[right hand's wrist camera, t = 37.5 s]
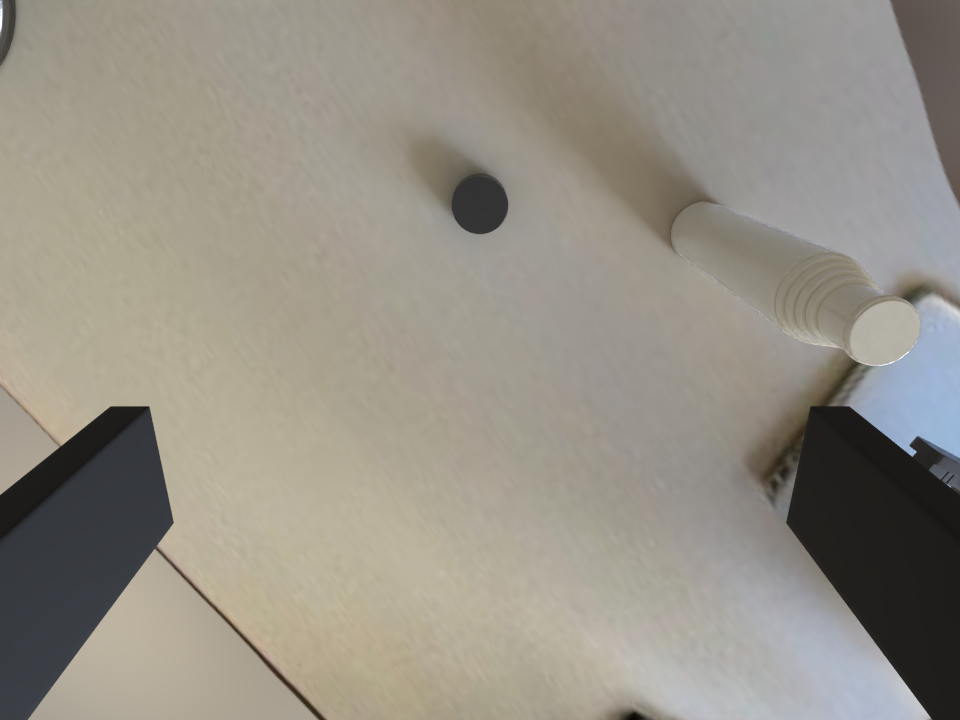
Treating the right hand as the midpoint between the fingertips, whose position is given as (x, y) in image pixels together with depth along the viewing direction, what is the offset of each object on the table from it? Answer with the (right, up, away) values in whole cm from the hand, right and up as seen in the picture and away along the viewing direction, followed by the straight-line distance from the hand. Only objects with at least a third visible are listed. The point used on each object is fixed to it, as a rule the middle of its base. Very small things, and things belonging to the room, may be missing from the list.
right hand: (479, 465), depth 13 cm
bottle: (+18, +12, +39) cm, 45 cm away
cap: (0, +14, +36) cm, 39 cm away
